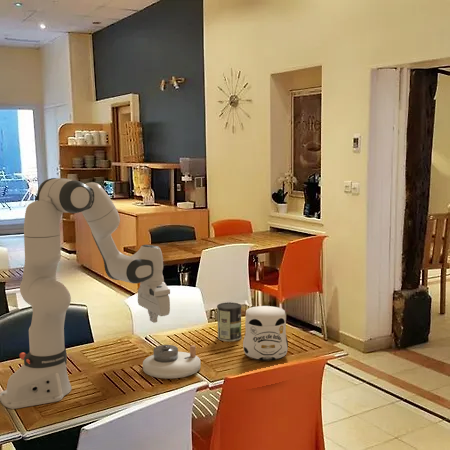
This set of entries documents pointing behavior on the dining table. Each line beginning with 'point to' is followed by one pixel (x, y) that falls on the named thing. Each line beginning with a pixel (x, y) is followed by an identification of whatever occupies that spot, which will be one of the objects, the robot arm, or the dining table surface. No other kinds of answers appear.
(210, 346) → the dining table surface
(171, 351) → the iron cover
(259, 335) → the milk container
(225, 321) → the coffee can
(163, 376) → the crank wheel
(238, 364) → the dining table surface
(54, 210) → the robot arm
